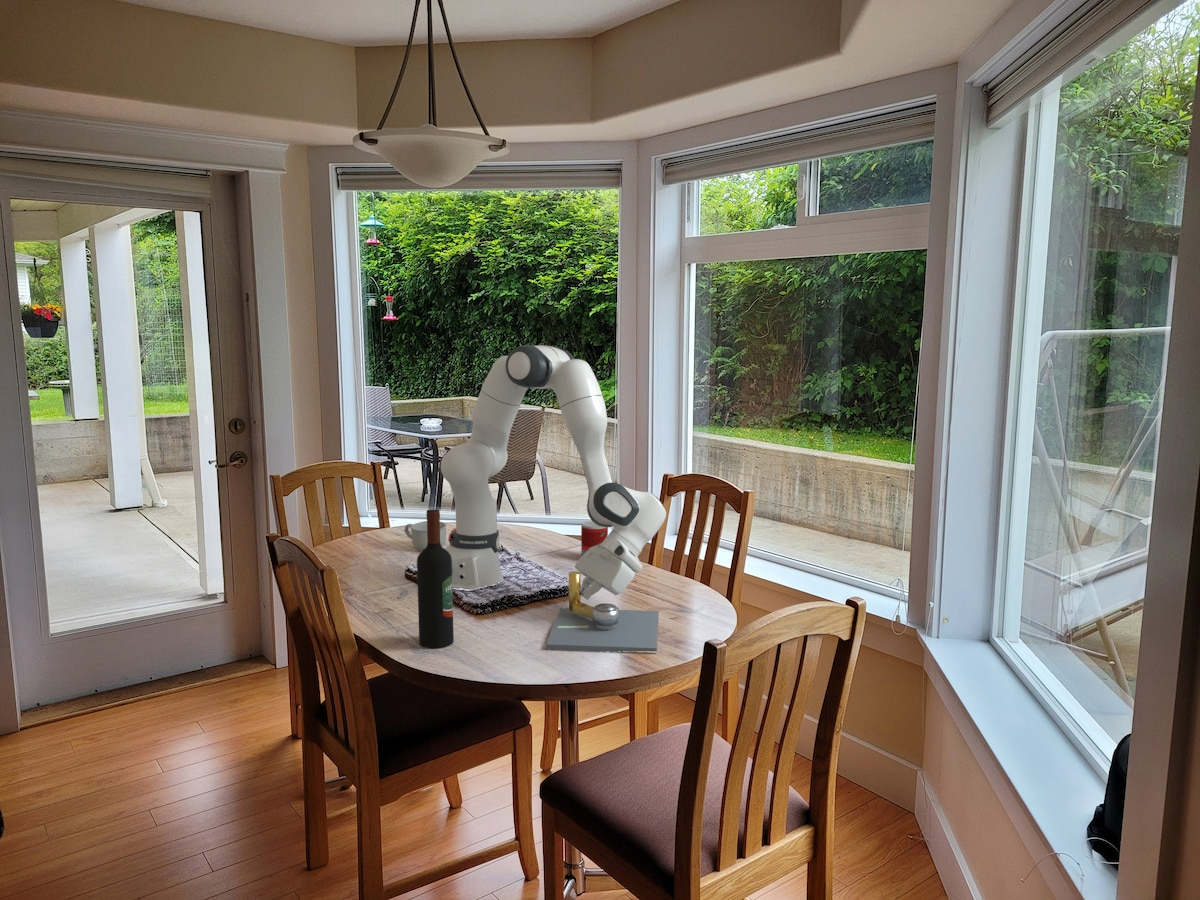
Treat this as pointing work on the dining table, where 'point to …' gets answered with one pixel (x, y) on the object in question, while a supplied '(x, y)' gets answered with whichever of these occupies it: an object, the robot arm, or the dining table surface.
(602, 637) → the base
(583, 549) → the canned food
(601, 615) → the door handle
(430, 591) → the wine bottle
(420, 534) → the teacup
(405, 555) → the dining table surface
